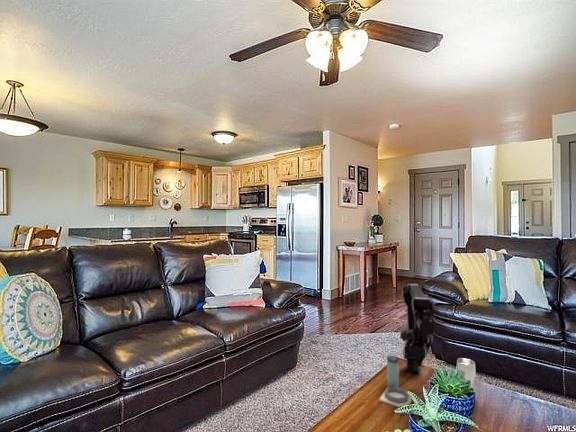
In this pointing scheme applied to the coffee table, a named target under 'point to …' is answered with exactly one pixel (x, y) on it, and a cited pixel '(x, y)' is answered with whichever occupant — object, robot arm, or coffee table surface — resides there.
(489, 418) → the coffee table surface
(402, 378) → the coffee table surface
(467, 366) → the beer glass
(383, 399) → the mount plate
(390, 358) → the teal cylinder
